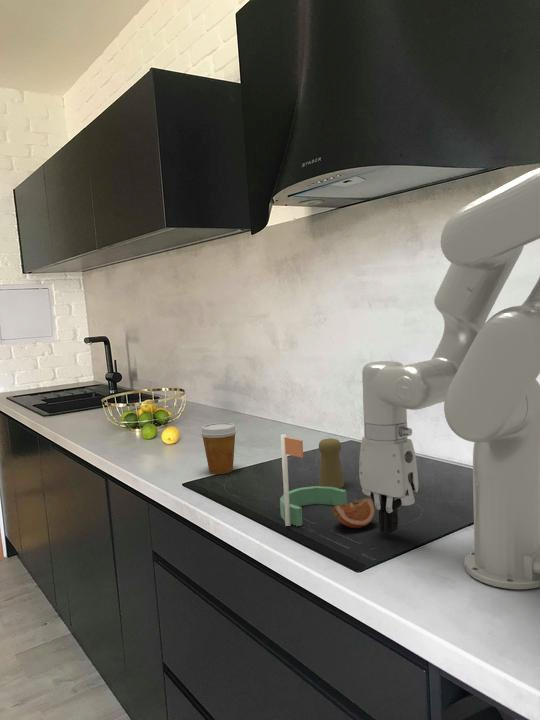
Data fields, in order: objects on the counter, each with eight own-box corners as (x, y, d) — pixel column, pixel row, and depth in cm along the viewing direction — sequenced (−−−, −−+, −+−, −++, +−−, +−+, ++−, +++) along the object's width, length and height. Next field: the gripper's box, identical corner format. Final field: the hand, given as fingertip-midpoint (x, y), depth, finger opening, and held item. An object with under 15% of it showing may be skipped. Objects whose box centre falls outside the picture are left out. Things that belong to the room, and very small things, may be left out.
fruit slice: (343, 536, 108) (342, 510, 107) (325, 524, 114) (324, 499, 113) (381, 527, 111) (380, 501, 111) (362, 516, 117) (361, 492, 117)
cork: (349, 484, 138) (347, 438, 137) (334, 490, 134) (332, 443, 133) (328, 479, 142) (326, 435, 141) (313, 486, 138) (311, 440, 137)
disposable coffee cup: (232, 464, 161) (230, 420, 160) (243, 472, 152) (241, 427, 151) (199, 469, 158) (196, 425, 157) (208, 478, 149) (205, 431, 148)
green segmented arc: (358, 510, 120) (355, 423, 119) (304, 533, 110) (299, 438, 108) (315, 497, 130) (312, 417, 128) (261, 517, 119) (256, 430, 117)
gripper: (434, 432, 101) (436, 535, 103) (365, 422, 112) (368, 515, 114) (408, 441, 96) (411, 548, 98) (339, 429, 107) (343, 526, 109)
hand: (388, 530), depth 106 cm, fingers closed
